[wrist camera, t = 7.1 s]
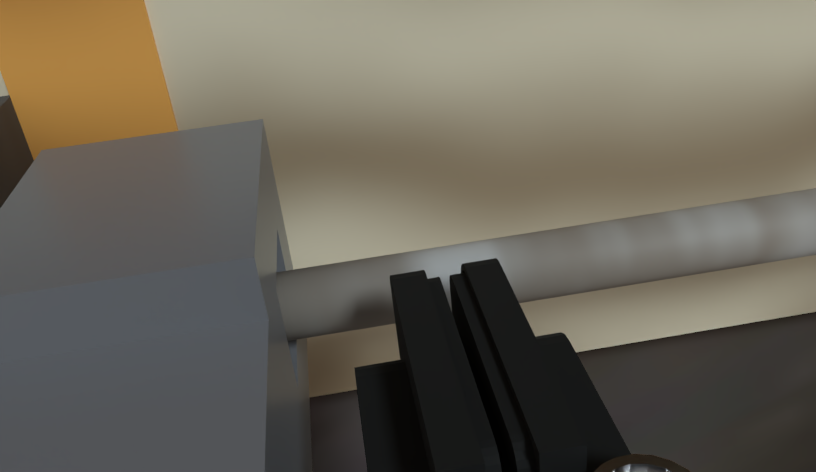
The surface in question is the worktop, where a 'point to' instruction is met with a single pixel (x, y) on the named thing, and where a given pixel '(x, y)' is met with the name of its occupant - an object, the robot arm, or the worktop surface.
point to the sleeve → (150, 310)
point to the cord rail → (469, 147)
